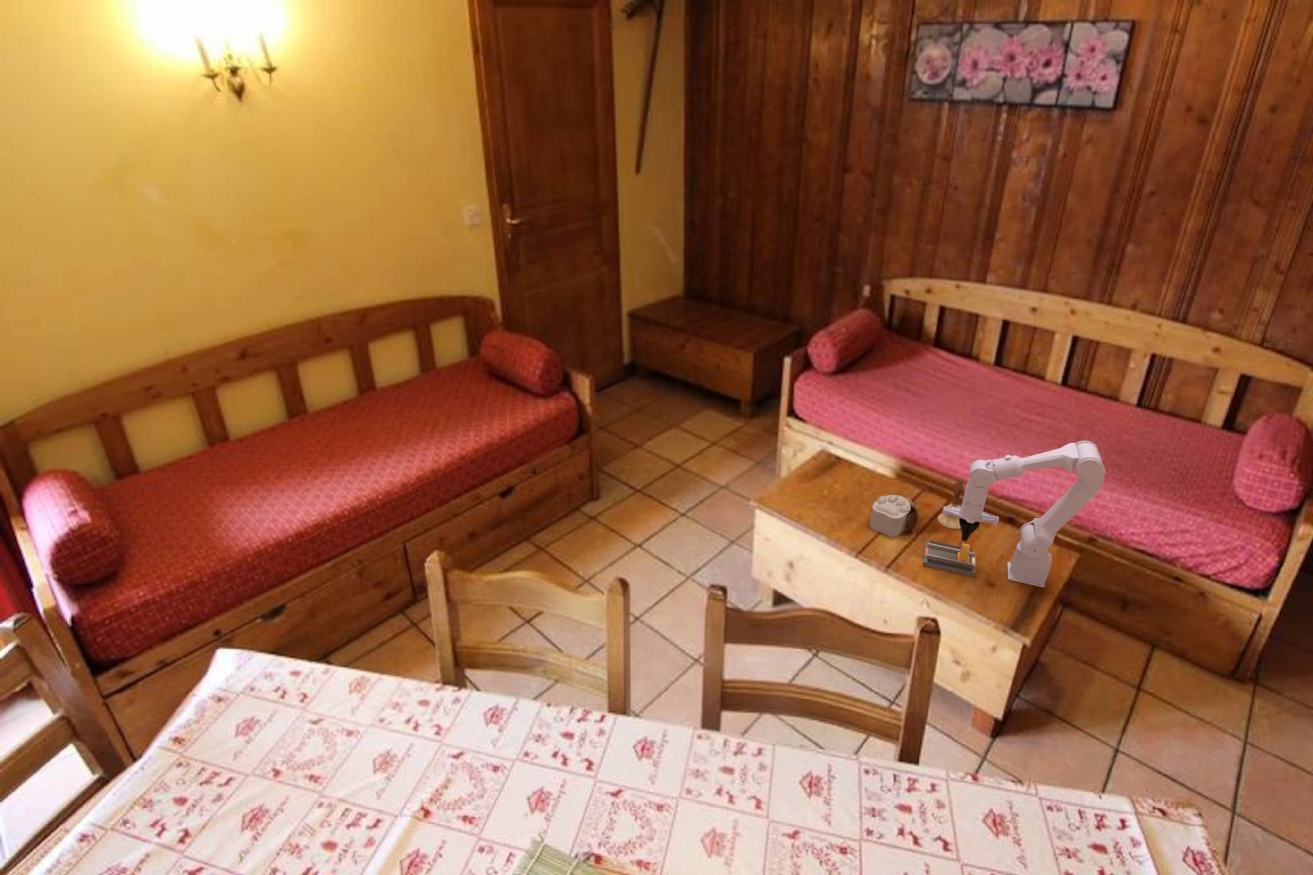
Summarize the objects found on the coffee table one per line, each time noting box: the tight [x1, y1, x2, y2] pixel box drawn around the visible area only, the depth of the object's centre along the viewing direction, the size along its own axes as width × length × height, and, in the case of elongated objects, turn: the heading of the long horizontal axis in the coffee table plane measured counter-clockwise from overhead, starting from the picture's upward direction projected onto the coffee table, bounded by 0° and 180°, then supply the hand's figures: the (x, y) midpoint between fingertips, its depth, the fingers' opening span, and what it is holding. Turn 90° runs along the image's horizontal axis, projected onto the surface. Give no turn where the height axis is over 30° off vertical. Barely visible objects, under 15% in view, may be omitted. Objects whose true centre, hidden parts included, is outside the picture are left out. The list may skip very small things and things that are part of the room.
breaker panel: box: [922, 539, 976, 578], centre depth 212 cm, size 14×10×3 cm
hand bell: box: [937, 478, 964, 530], centre depth 226 cm, size 8×8×16 cm
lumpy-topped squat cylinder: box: [868, 494, 911, 538], centre depth 227 cm, size 10×13×9 cm
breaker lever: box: [957, 542, 971, 563], centre depth 210 cm, size 3×4×4 cm
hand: (964, 538), depth 208 cm, fingers closed
